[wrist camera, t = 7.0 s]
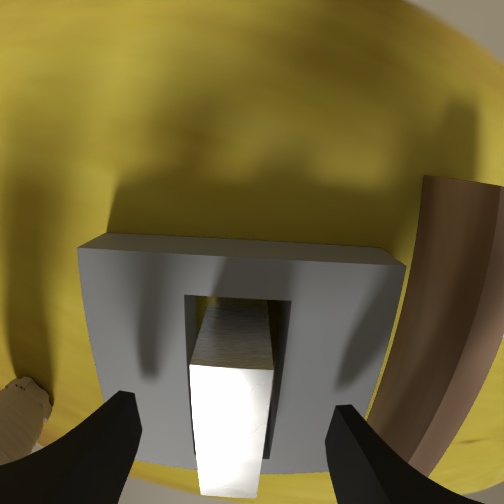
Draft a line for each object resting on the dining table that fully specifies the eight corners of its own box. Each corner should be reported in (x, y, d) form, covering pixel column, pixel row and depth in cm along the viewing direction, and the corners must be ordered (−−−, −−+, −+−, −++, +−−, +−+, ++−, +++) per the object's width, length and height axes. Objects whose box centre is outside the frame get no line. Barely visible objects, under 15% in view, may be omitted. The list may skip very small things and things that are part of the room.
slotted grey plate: (380, 248, 13) (406, 266, 10) (334, 438, 16) (342, 470, 13) (105, 232, 12) (77, 247, 10) (134, 427, 15) (122, 457, 13)
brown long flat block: (458, 182, 12) (535, 196, 7) (374, 462, 17) (393, 518, 12) (423, 175, 12) (500, 186, 7) (347, 466, 17) (363, 525, 12)
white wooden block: (265, 290, 13) (273, 370, 8) (255, 412, 15) (256, 498, 10) (212, 288, 13) (189, 364, 8) (213, 410, 15) (201, 494, 10)
